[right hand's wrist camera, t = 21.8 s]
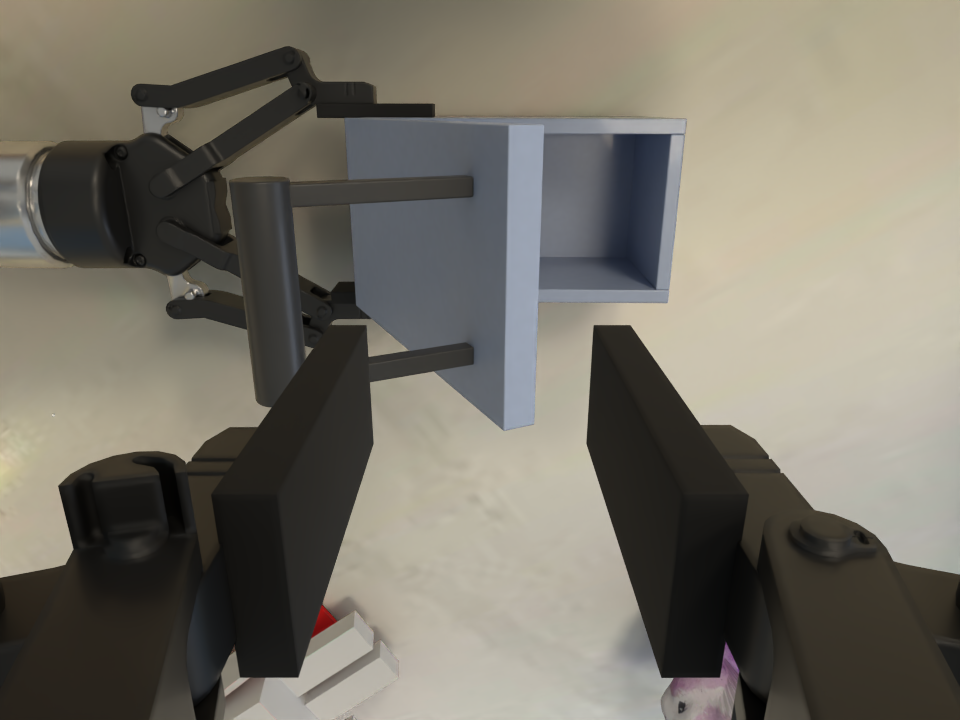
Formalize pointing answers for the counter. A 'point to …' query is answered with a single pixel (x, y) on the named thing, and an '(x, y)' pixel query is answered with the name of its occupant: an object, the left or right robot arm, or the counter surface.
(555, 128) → the chest
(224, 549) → the right robot arm
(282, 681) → the toy
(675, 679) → the figurine
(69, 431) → the counter surface
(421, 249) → the lid
